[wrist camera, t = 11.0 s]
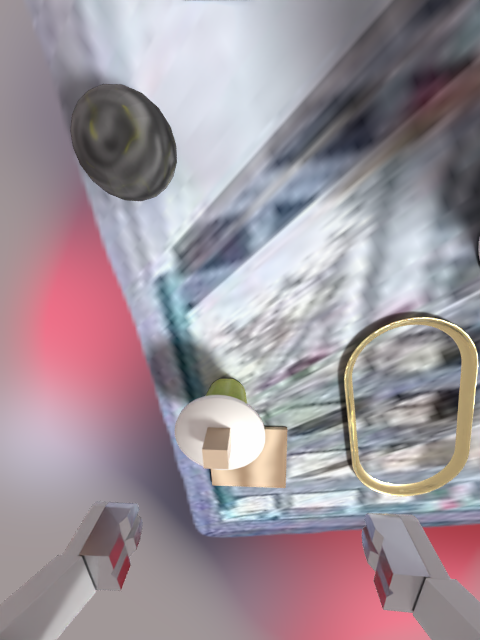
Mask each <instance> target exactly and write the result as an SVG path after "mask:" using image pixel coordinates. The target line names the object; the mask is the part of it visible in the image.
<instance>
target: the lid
mask: <svg viewBox="0 0 480 640" xmlns="http://www.w3.org/2000/svg"><path fill="white" fill-rule="evenodd" d="M175 437H176V441H177V443H178V445H179V447H180V449H181V450H182V452H183V453H184V454H185V455H186V456H187V457H188V458H190V459H191V460H192V461H194V462H195V463H197V464H199V465H202V466H204V468H208V469H216V470H233V469H237V468H241V467H244V466H246V465H248V464H249V463H251V462H253V461H254V460H255V459H256V458H257V457H258V456H259V455H260V453H261V452H262V450H263V447H264V444H265V428H264V424H263V421H262V419H261V417H260V416H259V414H258V413H257V412H256V411H255V410H254V409H253V408H252V407H251V406H250V405H248V404H247V403H245V402H243V401H241V400H239V399H237V398H234V397H230V396H225V395H209V396H204V397H200V398H198V399H195V400H194V401H192V402H190V403H189V404H188V405H186V406H185V407H184V409H183V410H182V411H181V413H180V415H179V417H178V419H177V421H176V425H175Z"/></svg>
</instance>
